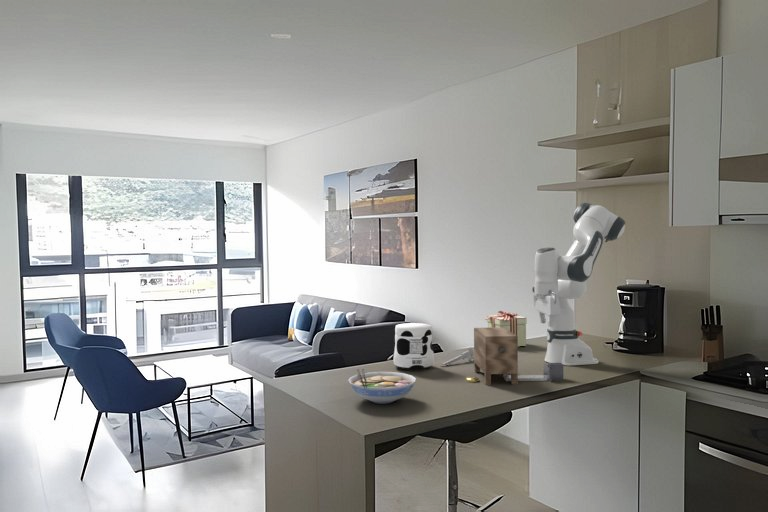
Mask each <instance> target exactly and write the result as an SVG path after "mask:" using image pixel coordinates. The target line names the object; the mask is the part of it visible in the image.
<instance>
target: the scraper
mask: <svg viewBox="0 0 768 512" xmlns="http://www.w3.org/2000/svg"><path fill="white" fill-rule="evenodd" d="M502 375H503V377H504V378H503V379H504V381H505V382H509V381H510V382H511V374H502ZM518 381H519V382H527V381H528V382H531V381H532V382H535V381H536V382H543V381H544V382H547V381H548V382H549V383H553V381H564V365H563V364H562V363H549V362H547V363H543V374H530V375H529V374H521V375H520V374H518Z"/></svg>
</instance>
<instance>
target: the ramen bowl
mask: <svg viewBox="0 0 768 512" xmlns="http://www.w3.org/2000/svg"><path fill="white" fill-rule="evenodd" d="M356 372H357V374H355V375H353V376H351V377H349V379H347V381H348V383H349V385H350V386H351V388H352V390H353V391H354V392H355V393H356V394H357V396H359V397H360V398H362V399H365V400H367V401H370V402H371V403H374V404H377V405H378V404H379V405H381V404H383V405H385V404H391V403H393V402H394V401H397V400H401V399H402V398H404V397H406V396H407V395H408V394H409V393H410V392H411V390H412V389H413V388H414V385H415V383H416V381H417V378H416V377H415V376H413V375H412V374H411V375H410V374H407V373H403V372H397V371H396V372H395V371H394V372H393V371H372V372H365V369H364V368H363V369H361V371H360V369H359V368H358V369H356ZM361 372H362V373H361Z"/></svg>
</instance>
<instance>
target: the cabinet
mask: <svg viewBox="0 0 768 512" xmlns="http://www.w3.org/2000/svg"><path fill="white" fill-rule="evenodd" d="M518 348H519V347H518V336H517V335H515V334H513V333H512V332H510V331H508V330H507V329H505V328H503V327H494V328H488V327H473V352H474V360H473V372H474V371H475V372H480V373H481V371H482V372H483V373H484V385H486V386H491V385H492V375H503V374H508V375H511V381H510V384H511V385H518V384H519V382H518V375H519V373H518V371H519V369H518V366H519V361H518V359H519V357H518V350H519V349H518ZM475 372H474V373H475Z"/></svg>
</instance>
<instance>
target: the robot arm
mask: <svg viewBox="0 0 768 512" xmlns="http://www.w3.org/2000/svg"><path fill="white" fill-rule="evenodd" d="M573 221H574V223H575V225H574V226H573V229H572V233H573V236H574V239H575V240H574V241H573V243H572V244H571V246H570V248H569V249H568V250H567V252H566V254H565V255H562V254H560V253H558V252H557V250H556V248H555V247H542V248H539V249H538V250H537V251H536V253H535V256H534V274H535V278H534V285H533V286H532V287H531V291H532V293H533V307H534V310H535V311H537V312H538V316H539V322H540V324H546V321H547V326H548V328H547V330H546V339H547V340H546V341H547V347H546V353H545V356H544V361H545V362H547V363H562V364H563V366H581V365H584V366H585V365H596V364H597V365H598V364H599V359H597V358H596V357H594V355H593V350H592V348H591V347H590V346H589V345H588V344H586V343H585V342H584V341H583V340H582V339H580V338H579V337H582V336H583V332H582V331H580V330H577V329H575V311H574V310H573V308H572V307H571V306H570V304H569V301H568V300H574V299H580V298H582V297H583V296H584V295H585V294H586V292H587V289H588V287H587V282H586V281H588V279H589V278H590V276H591V275H592V273H593V268H594V265H595V263H596V260H597V258H598V256H599V254H600V252H601V249H602V247H603V245H604V244H603V243H608V242H609V241H610V242H612V241H615V240H617V239H618V238H620V237H621V236H622V235H623V234H624V232H625V230H626V221H625V220H624V218H622V217H621V216H618V215H616V213H613V212H611V211H609V210H608V209H607V208H606V207H604V206H603V205H599V204H597V205H593V204H592V203H589V202H583V203H580V204H579V205H578V206H577V207H576V208H575V210H574V213H573ZM604 240H605V241H604ZM546 315H547V319H546Z"/></svg>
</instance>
